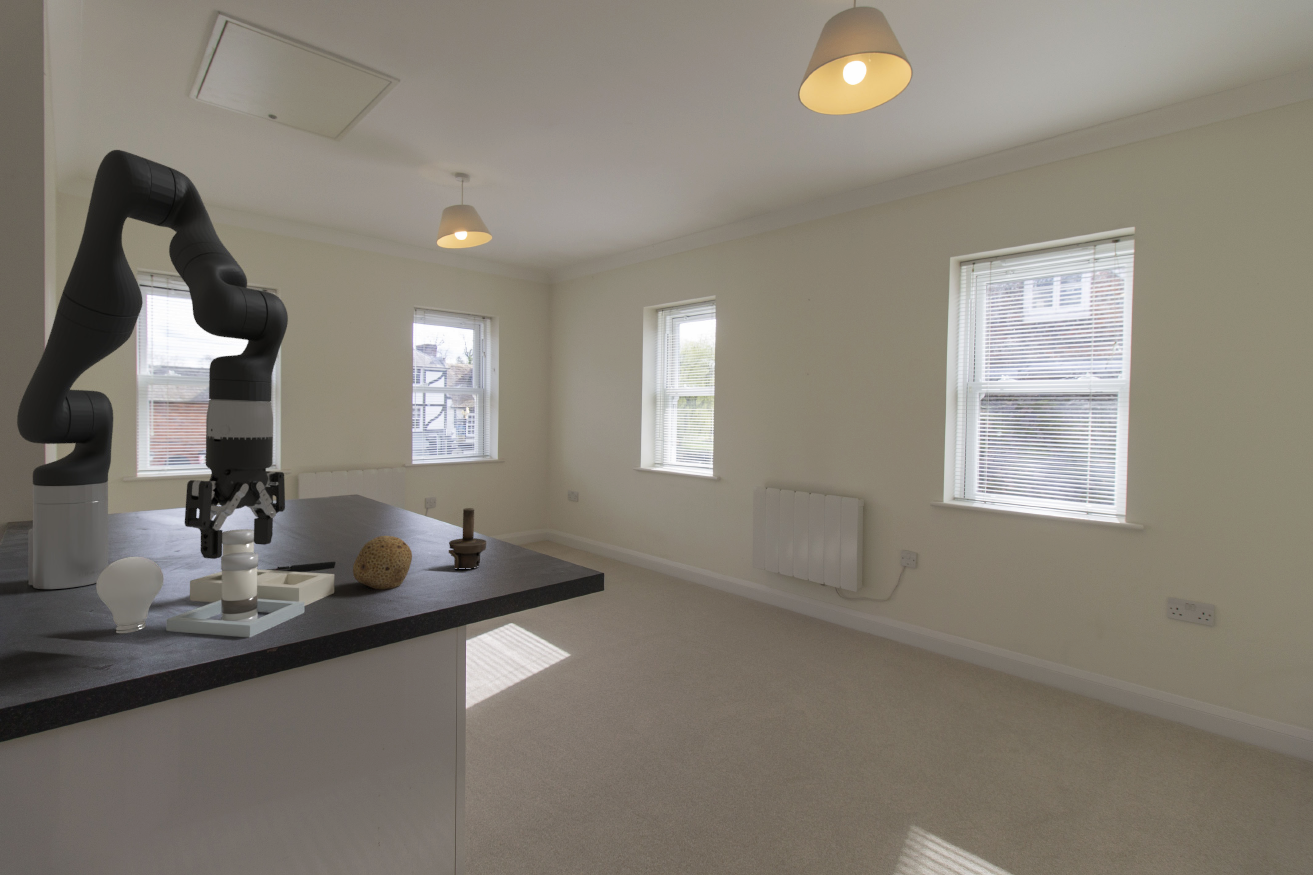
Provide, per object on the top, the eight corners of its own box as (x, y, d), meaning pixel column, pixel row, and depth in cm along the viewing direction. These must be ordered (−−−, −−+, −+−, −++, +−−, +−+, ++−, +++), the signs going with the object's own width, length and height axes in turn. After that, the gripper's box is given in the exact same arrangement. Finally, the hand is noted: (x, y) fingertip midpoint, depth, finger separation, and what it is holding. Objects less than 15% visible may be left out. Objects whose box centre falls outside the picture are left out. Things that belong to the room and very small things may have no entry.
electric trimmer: (336, 579, 111) (337, 562, 111) (234, 590, 101) (235, 572, 101) (333, 575, 114) (334, 558, 114) (234, 585, 104) (234, 567, 104)
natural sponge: (352, 604, 95) (353, 542, 95) (352, 589, 103) (353, 532, 103) (413, 598, 99) (414, 539, 99) (408, 584, 107) (409, 529, 107)
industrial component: (450, 573, 115) (451, 512, 115) (443, 565, 121) (445, 507, 121) (499, 569, 120) (500, 510, 119) (490, 561, 126) (491, 504, 126)
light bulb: (124, 630, 81) (124, 551, 81) (175, 630, 82) (176, 551, 81) (81, 649, 75) (81, 563, 74) (137, 649, 75) (138, 563, 75)
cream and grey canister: (212, 631, 80) (213, 558, 80) (238, 620, 85) (238, 551, 84) (240, 633, 80) (241, 560, 80) (264, 622, 84) (265, 553, 84)
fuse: (214, 597, 92) (215, 533, 92) (236, 589, 96) (237, 528, 96) (239, 599, 91) (240, 534, 91) (260, 591, 96) (261, 529, 95)
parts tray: (166, 641, 78) (166, 619, 78) (229, 616, 88) (229, 596, 88) (249, 648, 77) (250, 625, 77) (304, 622, 87) (304, 601, 86)
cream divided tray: (189, 609, 90) (189, 580, 90) (233, 594, 98) (233, 567, 98) (298, 617, 88) (299, 588, 88) (334, 601, 96) (334, 574, 96)
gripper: (256, 431, 89) (254, 538, 89) (167, 433, 75) (165, 561, 75) (302, 433, 88) (300, 541, 89) (221, 436, 74) (219, 565, 74)
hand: (238, 550), depth 82 cm, fingers open, 8 cm apart
